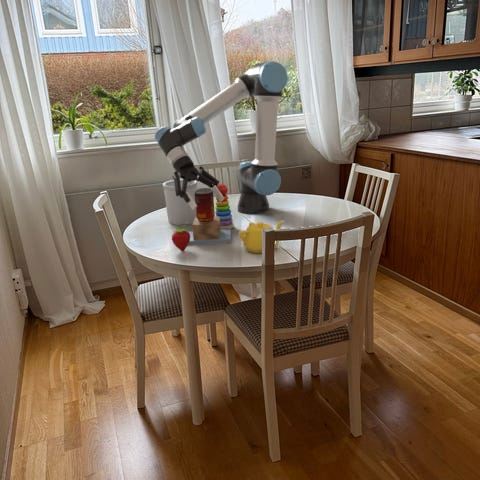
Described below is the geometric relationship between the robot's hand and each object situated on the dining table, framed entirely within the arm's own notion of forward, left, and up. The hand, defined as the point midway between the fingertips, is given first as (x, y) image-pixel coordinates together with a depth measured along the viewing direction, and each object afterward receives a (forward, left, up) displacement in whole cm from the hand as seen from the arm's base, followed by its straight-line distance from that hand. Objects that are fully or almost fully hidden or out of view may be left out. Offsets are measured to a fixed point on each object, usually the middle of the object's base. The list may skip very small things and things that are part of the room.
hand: (209, 204), depth 164 cm
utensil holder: (+15, -29, -14) cm, 35 cm away
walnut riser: (+2, -2, -13) cm, 13 cm away
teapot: (-19, +12, -15) cm, 27 cm away
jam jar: (+2, -1, -7) cm, 7 cm away
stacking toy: (-4, -15, -14) cm, 21 cm away
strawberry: (+10, +11, -14) cm, 21 cm away
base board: (+2, -2, -14) cm, 14 cm away
